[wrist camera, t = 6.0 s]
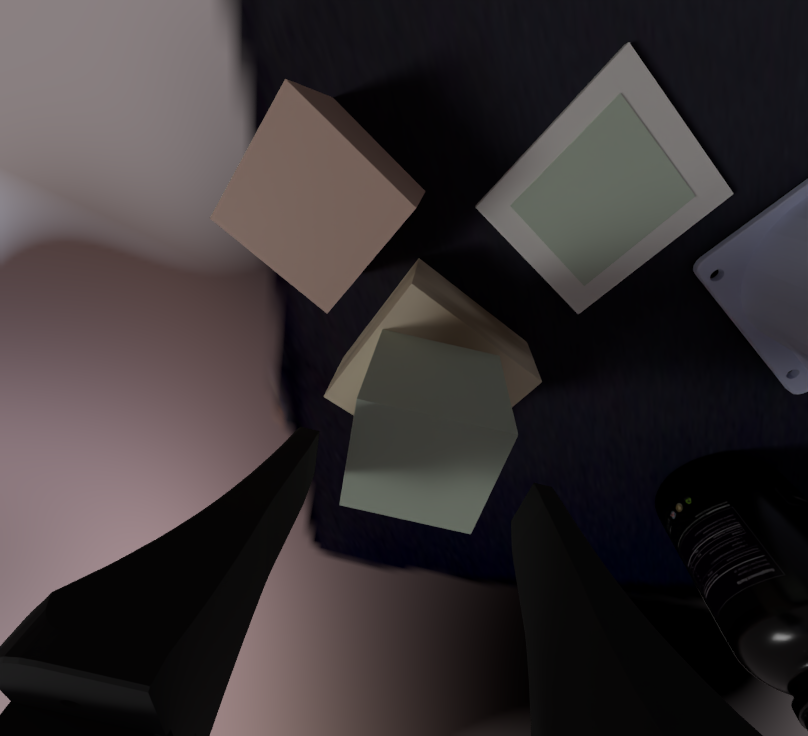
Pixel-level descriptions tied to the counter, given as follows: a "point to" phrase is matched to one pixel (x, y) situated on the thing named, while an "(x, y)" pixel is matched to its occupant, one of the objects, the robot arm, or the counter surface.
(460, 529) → the sage block
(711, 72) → the counter surface
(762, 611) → the supplement bottle
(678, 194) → the card
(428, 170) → the counter surface
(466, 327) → the maple block
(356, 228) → the terracotta block
